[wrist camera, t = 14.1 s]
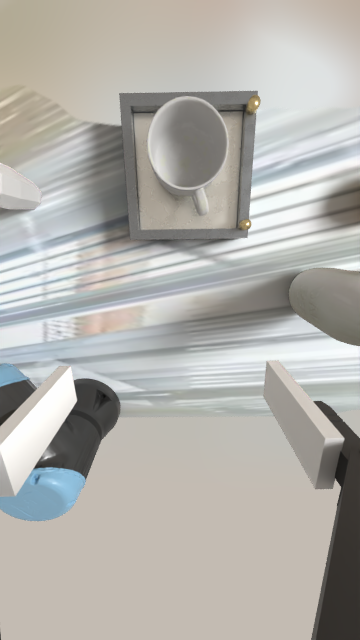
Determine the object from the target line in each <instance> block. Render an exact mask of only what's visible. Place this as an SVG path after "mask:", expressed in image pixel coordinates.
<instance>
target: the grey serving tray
mask: <svg viewBox="0 0 360 640" xmlns="http://www.w3.org/2000/svg"><path fill="white" fill-rule="evenodd" d="M257 93H258V91H232V92H231V91H229V92H175V93H120V94H119V95H120V108H121V121H122V136H123V149H124V163H125V176H126V190H127V204H128V217H129V231H130V239H132V240H154V239H228V238H247V235H248V229H249V228H250V227H251V221H250V220H249V207H250V193H251V179H252V165H253V151H254V137H255V123H256V110H257V109H258V107H259V105H260V98H259V96H258V95H257ZM183 96H191V97H197V98H200V99H203V100H205V101H206V102H208V103H209V104H211V105H212V106H213V107H214V108H215V109H216V110H217V111H218V113H219V114H220V115H221V117H222V119H223V121H224V123H225V126H226V129H227V133H228V154H227V158H226V161H225V164H224V166H223V168H222V170H221V172H220V173H219V174H218V176H217V177H216V178H215V179H214V180H213V182H212V183H211V184H210V185H209V186H208V187H207V188H206V189H205V190H204V192H205V194H206V197H207V201H208V207H209V211H208V213H207V214H206V215H204V216H199V215H198V213H197V211H196V208H195V205H194V202H193V200H192V197H191V196H178V195H175V194H173V193H170V192H169V191H167V190H166V189H165V188H164V187H163V186H162V185H161V184H160V183H159V181H158V180H157V178H156V176H155V174H154V172H153V169H152V166H151V163H150V161H149V157H148V152H147V135H148V130H149V126H150V124H151V121H152V119H153V117H154V116H155V114H156V112H157V111H158V110H159V109H160V108H161V107H162V106H163V105H164V104H165V103H167V102H168V101H170V100H172V99H175V98H177V97H183Z"/></svg>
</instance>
